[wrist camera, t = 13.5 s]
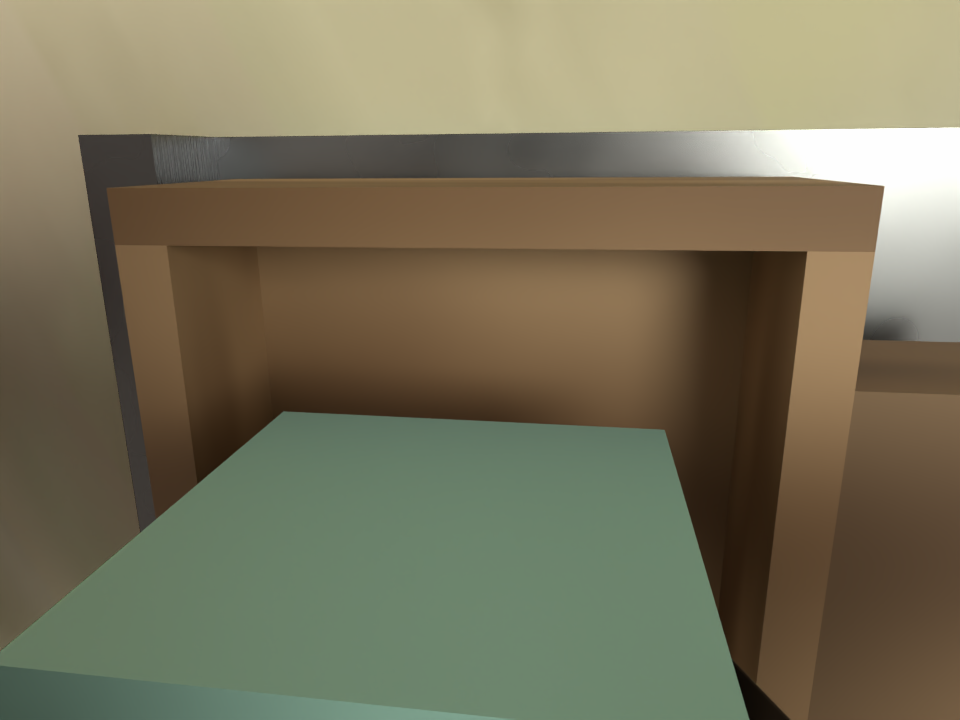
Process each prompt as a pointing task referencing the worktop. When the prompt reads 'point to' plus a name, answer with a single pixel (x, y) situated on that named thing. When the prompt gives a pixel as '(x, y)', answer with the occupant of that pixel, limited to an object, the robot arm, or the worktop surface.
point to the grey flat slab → (750, 153)
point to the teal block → (397, 586)
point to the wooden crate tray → (596, 376)
